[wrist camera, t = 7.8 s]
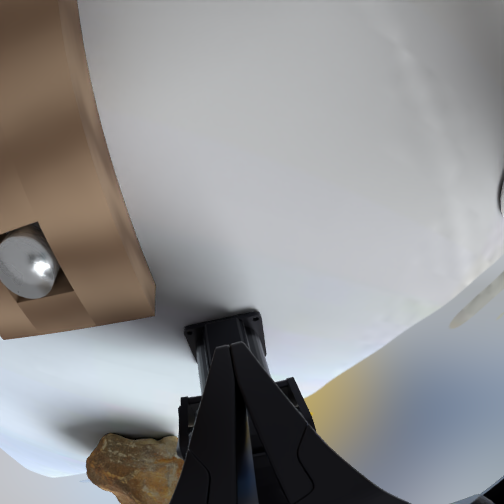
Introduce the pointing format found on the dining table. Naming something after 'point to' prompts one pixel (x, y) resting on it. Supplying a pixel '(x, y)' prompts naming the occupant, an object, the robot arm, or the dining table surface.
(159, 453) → the rough brown rock
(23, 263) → the steel plunger
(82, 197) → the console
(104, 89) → the dining table surface
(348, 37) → the dining table surface
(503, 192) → the table lamp
